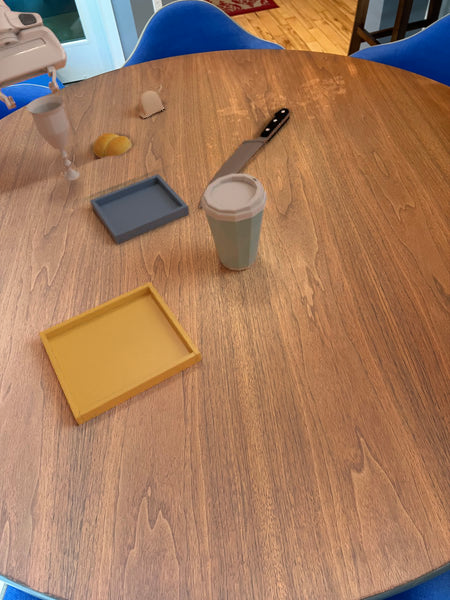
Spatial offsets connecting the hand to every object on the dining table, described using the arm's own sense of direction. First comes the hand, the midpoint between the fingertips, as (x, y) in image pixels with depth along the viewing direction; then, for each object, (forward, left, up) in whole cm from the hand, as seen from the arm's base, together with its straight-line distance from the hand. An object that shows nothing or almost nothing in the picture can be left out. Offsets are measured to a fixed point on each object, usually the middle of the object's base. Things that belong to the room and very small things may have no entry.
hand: (34, 99), depth 97 cm
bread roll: (+13, -1, -17) cm, 21 cm away
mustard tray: (-8, -55, -16) cm, 58 cm away
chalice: (+1, -7, -17) cm, 18 cm away
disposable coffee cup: (+18, -48, -17) cm, 54 cm away
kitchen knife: (+37, -22, -17) cm, 46 cm away
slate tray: (+9, -25, -16) cm, 31 cm away
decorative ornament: (+29, +11, -17) cm, 35 cm away
